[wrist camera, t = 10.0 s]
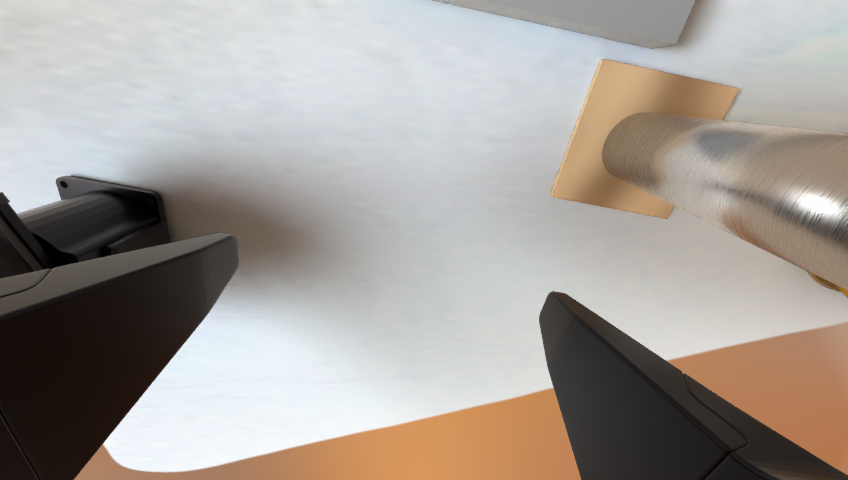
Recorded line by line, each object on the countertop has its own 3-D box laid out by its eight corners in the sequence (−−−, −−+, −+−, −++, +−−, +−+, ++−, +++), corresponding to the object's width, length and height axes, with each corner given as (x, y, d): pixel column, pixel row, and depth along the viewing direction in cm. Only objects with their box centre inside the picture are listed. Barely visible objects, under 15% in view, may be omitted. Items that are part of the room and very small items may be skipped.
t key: (599, 199, 21) (900, 401, 7) (605, 100, 19) (1077, 131, 5) (664, 190, 21) (1107, 385, 7) (679, 87, 18) (1409, 84, 5)
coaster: (549, 195, 21) (551, 196, 21) (600, 59, 18) (603, 59, 18) (663, 216, 22) (667, 218, 22) (733, 88, 18) (739, 88, 18)
